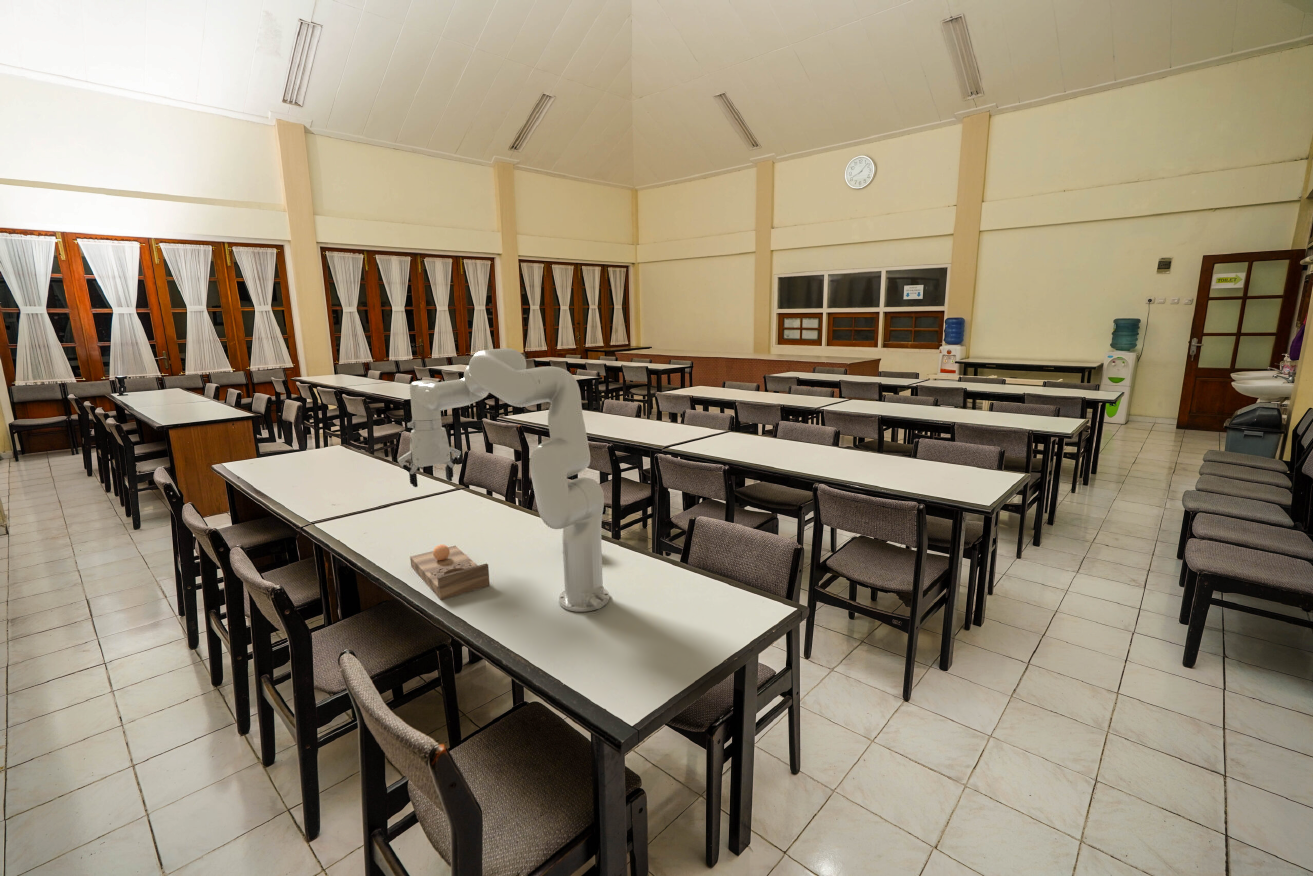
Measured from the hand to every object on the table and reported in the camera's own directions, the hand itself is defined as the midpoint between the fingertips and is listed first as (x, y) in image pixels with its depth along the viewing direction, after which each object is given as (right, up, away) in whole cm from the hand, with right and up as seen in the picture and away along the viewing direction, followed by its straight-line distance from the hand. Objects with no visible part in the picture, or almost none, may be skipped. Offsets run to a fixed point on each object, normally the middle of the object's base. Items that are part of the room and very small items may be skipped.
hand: (432, 483), depth 171 cm
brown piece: (+7, -25, -6) cm, 27 cm away
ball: (+4, -19, -3) cm, 20 cm away
